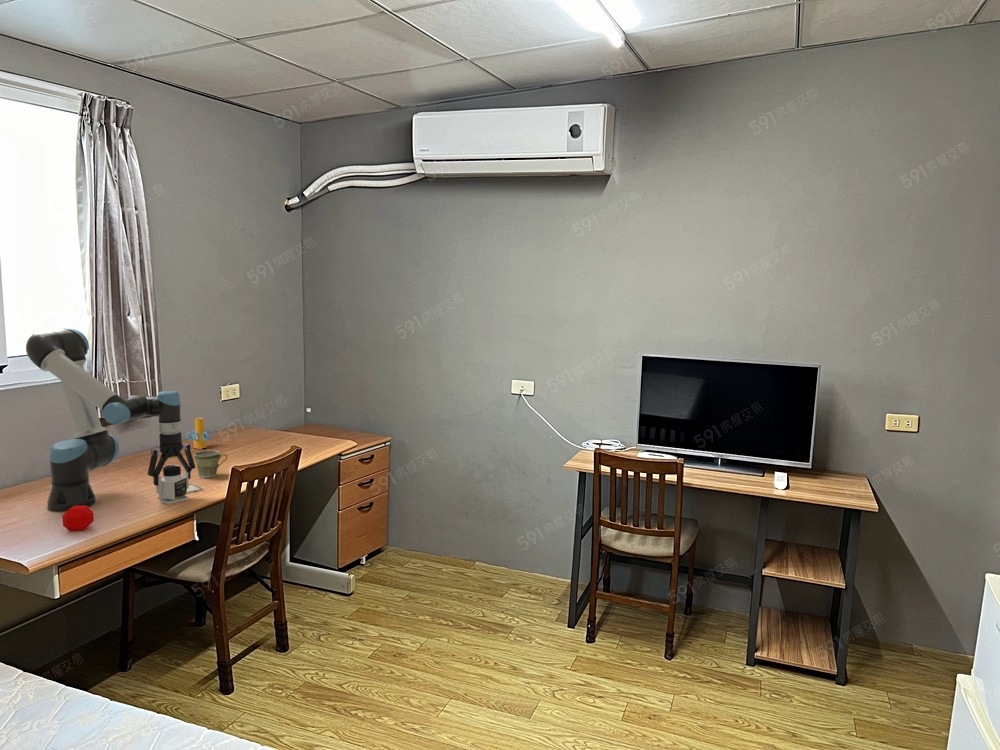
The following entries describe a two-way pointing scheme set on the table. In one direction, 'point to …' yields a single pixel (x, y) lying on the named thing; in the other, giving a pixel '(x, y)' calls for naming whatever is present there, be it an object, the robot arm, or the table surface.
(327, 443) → the table surface
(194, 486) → the print card
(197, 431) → the cylinder
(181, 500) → the ink pad
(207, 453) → the ceramic cup
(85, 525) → the ball
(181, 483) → the medicine bottle
